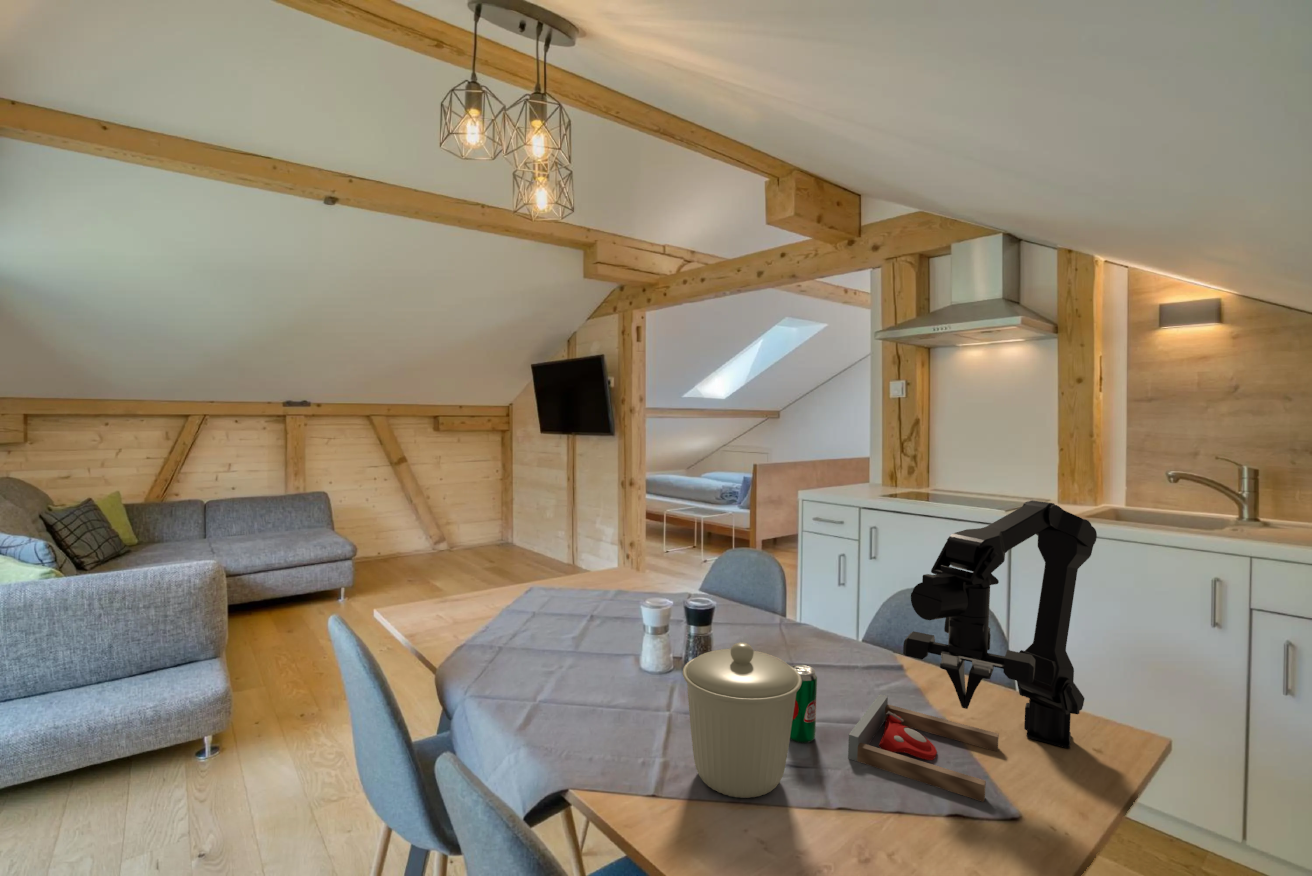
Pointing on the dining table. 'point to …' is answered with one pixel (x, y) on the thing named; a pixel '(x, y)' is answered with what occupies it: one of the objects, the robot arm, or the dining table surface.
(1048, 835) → the dining table surface
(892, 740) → the tracker holder
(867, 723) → the end stop
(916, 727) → the walnut channel
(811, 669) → the soda can
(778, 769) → the canister
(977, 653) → the robot arm
